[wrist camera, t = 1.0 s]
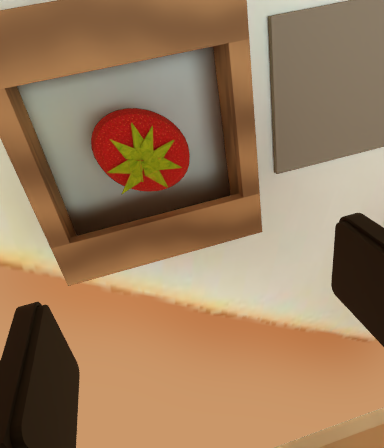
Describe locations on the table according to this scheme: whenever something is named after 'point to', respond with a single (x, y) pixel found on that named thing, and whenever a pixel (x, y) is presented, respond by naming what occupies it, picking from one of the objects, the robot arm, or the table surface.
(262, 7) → the table surface
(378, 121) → the mat
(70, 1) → the wooden box
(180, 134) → the strawberry
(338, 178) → the table surface
